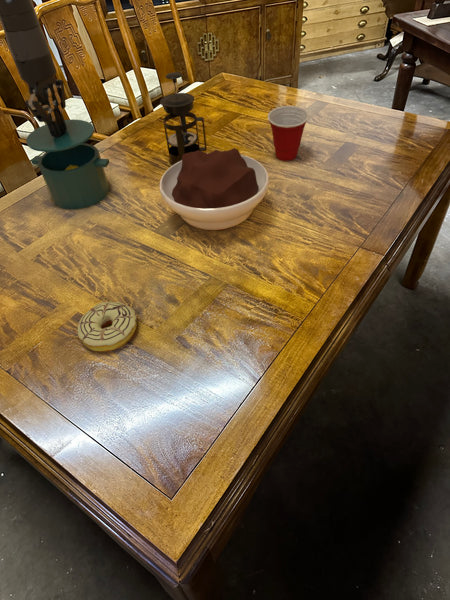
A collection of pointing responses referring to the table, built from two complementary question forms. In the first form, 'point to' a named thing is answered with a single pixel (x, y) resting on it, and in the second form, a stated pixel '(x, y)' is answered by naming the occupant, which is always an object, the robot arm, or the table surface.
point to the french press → (180, 108)
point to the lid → (70, 138)
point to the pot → (74, 176)
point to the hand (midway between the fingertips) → (59, 133)
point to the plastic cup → (287, 130)
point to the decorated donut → (109, 337)
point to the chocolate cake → (214, 188)
